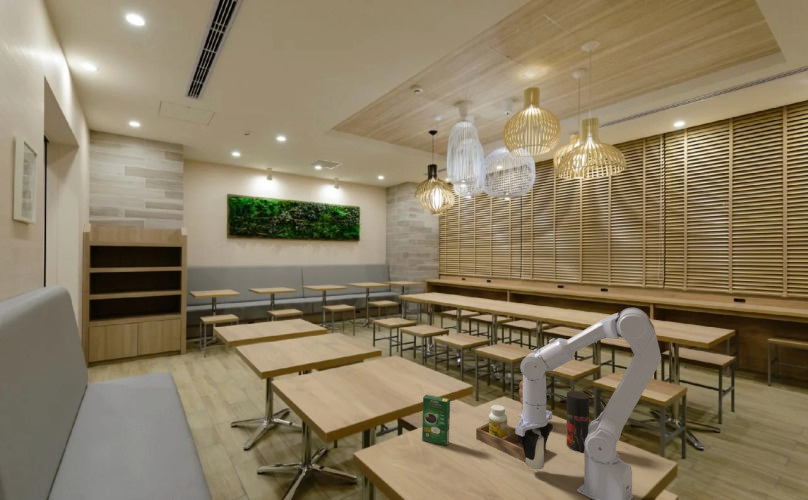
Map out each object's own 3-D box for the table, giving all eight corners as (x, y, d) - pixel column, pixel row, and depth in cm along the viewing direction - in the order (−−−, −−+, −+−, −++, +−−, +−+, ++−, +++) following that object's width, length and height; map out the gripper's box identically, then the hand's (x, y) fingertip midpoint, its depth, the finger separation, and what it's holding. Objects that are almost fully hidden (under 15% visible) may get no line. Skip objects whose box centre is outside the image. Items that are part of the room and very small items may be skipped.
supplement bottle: (511, 441, 111) (511, 409, 111) (497, 445, 109) (497, 412, 109) (498, 433, 116) (498, 402, 116) (485, 437, 113) (485, 406, 113)
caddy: (545, 450, 106) (545, 440, 106) (527, 463, 100) (528, 452, 100) (494, 429, 119) (494, 419, 119) (476, 438, 112) (476, 429, 112)
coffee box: (450, 442, 111) (450, 397, 111) (447, 446, 108) (447, 401, 108) (425, 436, 114) (425, 393, 114) (421, 441, 111) (421, 397, 111)
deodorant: (591, 453, 105) (591, 399, 105) (569, 450, 106) (569, 398, 106) (585, 442, 110) (585, 392, 111) (564, 440, 112) (564, 390, 112)
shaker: (547, 464, 95) (547, 431, 95) (538, 471, 92) (538, 436, 92) (531, 457, 98) (531, 425, 98) (522, 463, 95) (522, 430, 95)
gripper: (534, 390, 103) (534, 439, 103) (504, 404, 93) (504, 458, 93) (559, 397, 98) (559, 449, 98) (530, 413, 88) (530, 470, 88)
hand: (534, 454), depth 95 cm, fingers closed on shaker, 4 cm apart
